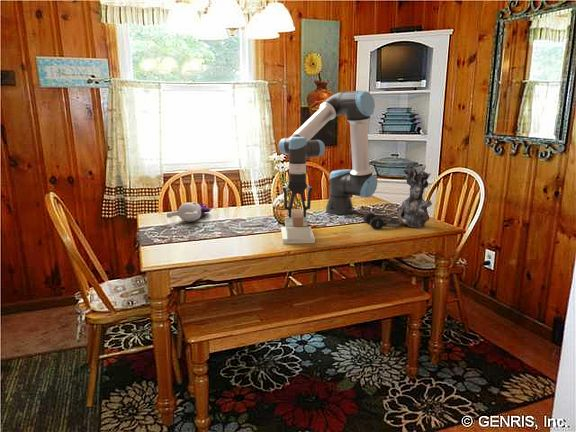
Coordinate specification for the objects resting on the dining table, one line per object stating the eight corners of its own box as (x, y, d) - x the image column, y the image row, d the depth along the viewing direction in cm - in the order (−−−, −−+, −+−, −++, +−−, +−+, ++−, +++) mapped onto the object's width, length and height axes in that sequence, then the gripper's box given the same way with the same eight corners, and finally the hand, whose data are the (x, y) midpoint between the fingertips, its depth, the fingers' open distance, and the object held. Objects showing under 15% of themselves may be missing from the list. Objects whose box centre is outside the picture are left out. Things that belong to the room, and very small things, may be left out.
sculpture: (415, 231, 208) (420, 168, 201) (392, 223, 221) (396, 164, 213) (436, 226, 216) (441, 165, 208) (412, 219, 228) (416, 162, 220)
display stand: (281, 230, 209) (280, 216, 207) (310, 230, 210) (310, 216, 208) (282, 243, 191) (282, 228, 189) (315, 243, 192) (315, 227, 190)
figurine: (220, 201, 239) (190, 203, 211) (221, 219, 239) (190, 223, 211) (195, 201, 244) (162, 203, 216) (195, 218, 245) (162, 223, 217)
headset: (358, 203, 221) (395, 205, 225) (355, 221, 223) (392, 224, 227) (367, 209, 208) (406, 212, 212) (363, 229, 210) (403, 231, 214)
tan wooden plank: (291, 219, 206) (291, 209, 204) (300, 219, 206) (300, 209, 205) (293, 228, 191) (293, 217, 190) (303, 228, 191) (303, 217, 190)
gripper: (278, 174, 189) (278, 226, 195) (318, 174, 190) (317, 226, 196) (277, 171, 196) (277, 222, 202) (315, 171, 197) (315, 221, 203)
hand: (297, 224), depth 199 cm, fingers closed on tan wooden plank, 4 cm apart
